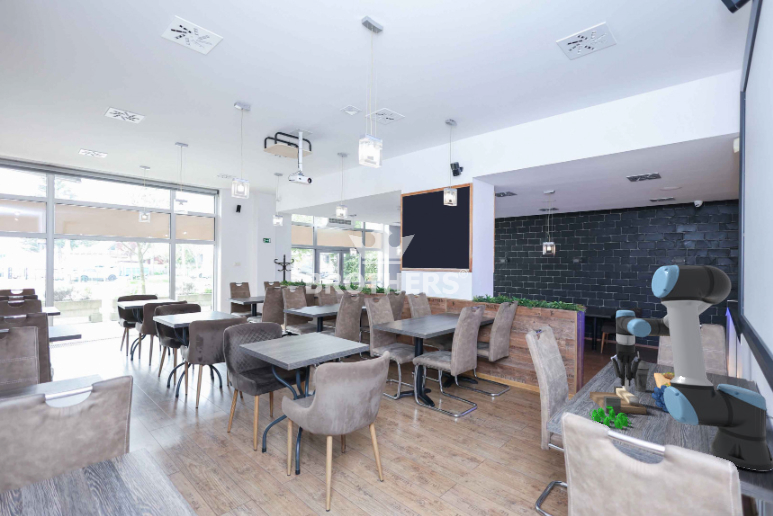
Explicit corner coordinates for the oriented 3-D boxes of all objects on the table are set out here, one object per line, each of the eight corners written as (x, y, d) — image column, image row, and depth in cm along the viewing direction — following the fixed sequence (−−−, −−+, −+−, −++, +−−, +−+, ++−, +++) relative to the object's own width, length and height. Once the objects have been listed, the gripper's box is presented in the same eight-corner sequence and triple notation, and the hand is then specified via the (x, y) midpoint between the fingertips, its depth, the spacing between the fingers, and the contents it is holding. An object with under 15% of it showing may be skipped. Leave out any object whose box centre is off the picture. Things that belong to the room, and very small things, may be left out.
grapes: (652, 413, 163) (652, 386, 163) (650, 407, 169) (651, 381, 169) (685, 419, 157) (686, 391, 157) (683, 413, 163) (683, 386, 163)
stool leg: (640, 406, 163) (640, 399, 163) (631, 405, 163) (632, 398, 163) (621, 393, 178) (621, 386, 178) (613, 392, 179) (613, 386, 179)
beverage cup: (651, 393, 187) (652, 353, 187) (635, 392, 189) (635, 352, 189) (644, 388, 194) (645, 350, 194) (629, 387, 196) (629, 349, 196)
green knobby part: (593, 412, 164) (593, 397, 164) (634, 423, 154) (634, 406, 154) (584, 424, 153) (584, 407, 153) (627, 435, 143) (627, 417, 143)
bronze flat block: (647, 416, 160) (647, 399, 160) (606, 413, 162) (606, 398, 162) (624, 399, 179) (624, 384, 179) (587, 397, 181) (587, 383, 181)
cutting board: (720, 403, 176) (720, 387, 176) (659, 393, 188) (659, 379, 188) (705, 382, 205) (705, 369, 205) (653, 375, 218) (653, 362, 218)
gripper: (635, 341, 178) (636, 390, 178) (607, 340, 180) (607, 389, 180) (644, 345, 171) (644, 396, 171) (614, 344, 173) (614, 395, 173)
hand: (625, 392), depth 176 cm, fingers closed
